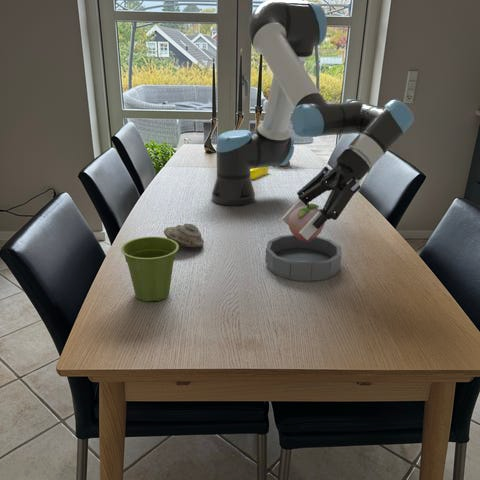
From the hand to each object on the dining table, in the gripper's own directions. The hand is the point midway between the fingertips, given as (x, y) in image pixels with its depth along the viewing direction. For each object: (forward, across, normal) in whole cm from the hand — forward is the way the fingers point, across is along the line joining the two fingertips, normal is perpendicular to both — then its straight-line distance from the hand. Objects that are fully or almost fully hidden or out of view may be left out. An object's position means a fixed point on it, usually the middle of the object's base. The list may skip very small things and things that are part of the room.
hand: (293, 229), depth 111 cm
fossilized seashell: (+24, +19, +9) cm, 32 cm away
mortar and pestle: (-21, +98, -35) cm, 107 cm away
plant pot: (+32, -3, +17) cm, 36 cm away
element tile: (-7, +88, -22) cm, 91 cm away
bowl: (+5, 0, -9) cm, 11 cm away
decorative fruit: (+1, 0, -5) cm, 5 cm away
